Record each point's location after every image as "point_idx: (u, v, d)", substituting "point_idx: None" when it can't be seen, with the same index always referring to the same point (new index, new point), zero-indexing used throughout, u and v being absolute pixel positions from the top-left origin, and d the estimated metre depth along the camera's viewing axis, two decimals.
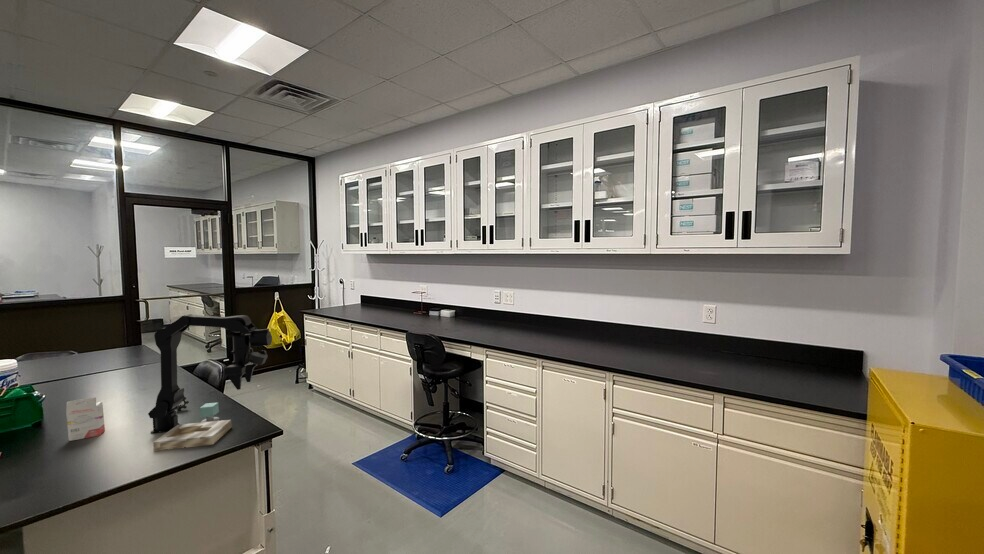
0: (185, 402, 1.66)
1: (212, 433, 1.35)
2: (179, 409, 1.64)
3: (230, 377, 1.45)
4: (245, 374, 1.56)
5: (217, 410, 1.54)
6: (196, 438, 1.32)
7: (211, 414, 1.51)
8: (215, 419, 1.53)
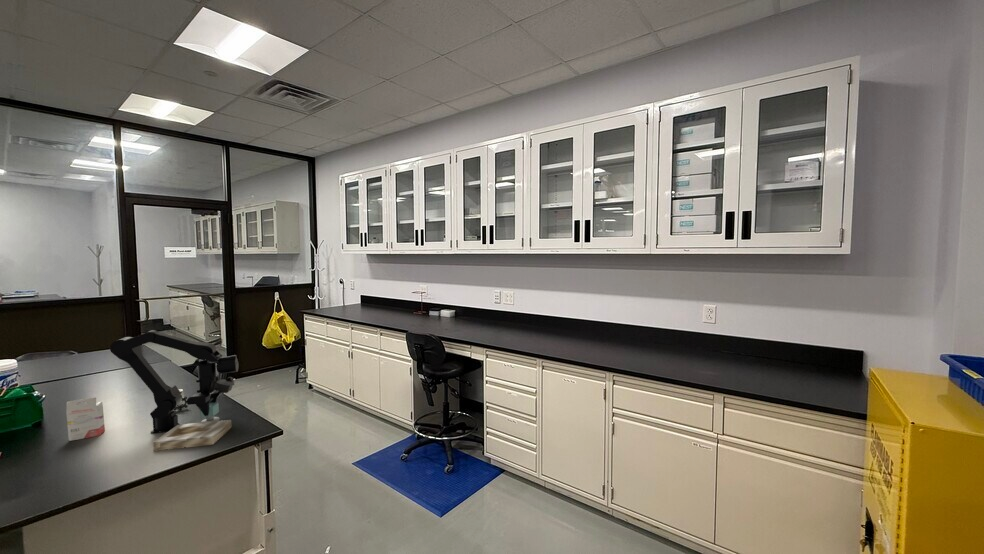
0: (186, 401, 1.66)
1: (212, 433, 1.35)
2: (180, 408, 1.65)
3: (197, 404, 1.48)
4: (209, 403, 1.54)
5: (217, 410, 1.54)
6: (196, 438, 1.32)
7: (211, 414, 1.51)
8: (215, 419, 1.53)
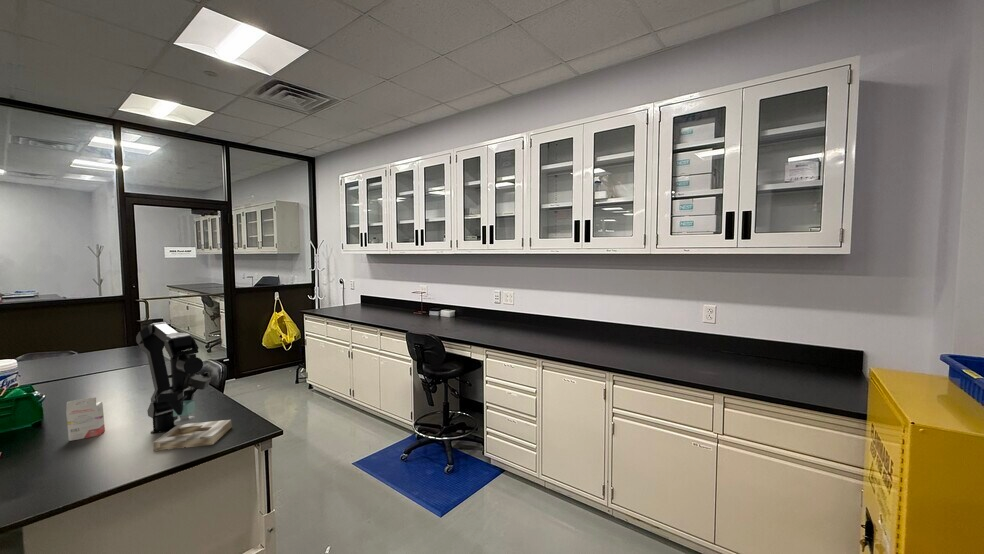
0: None
1: (212, 433, 1.35)
2: None
3: (169, 402, 1.32)
4: None
5: (192, 408, 1.39)
6: (196, 438, 1.32)
7: (185, 413, 1.35)
8: (190, 418, 1.38)
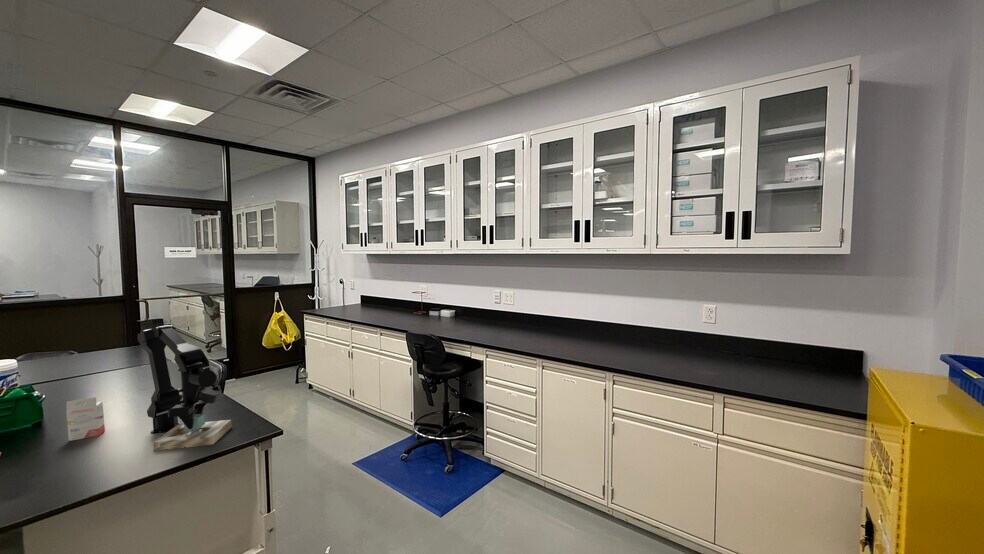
0: None
1: (212, 433, 1.35)
2: None
3: (180, 416, 1.33)
4: None
5: (203, 422, 1.39)
6: (196, 438, 1.32)
7: (196, 427, 1.36)
8: None
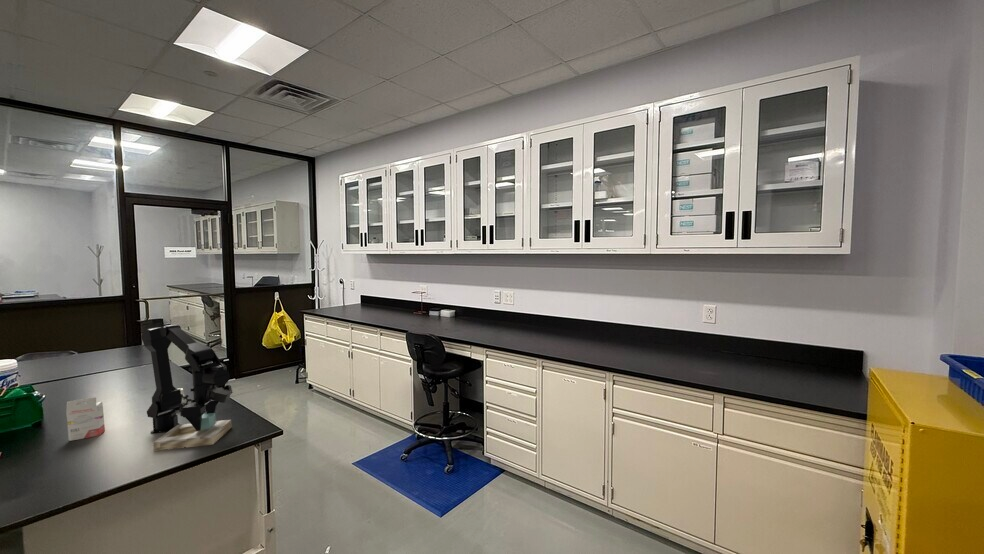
0: (188, 400, 1.68)
1: (212, 433, 1.35)
2: (182, 407, 1.67)
3: (188, 418, 1.32)
4: (208, 411, 1.43)
5: (213, 421, 1.40)
6: (196, 438, 1.32)
7: (207, 426, 1.37)
8: None
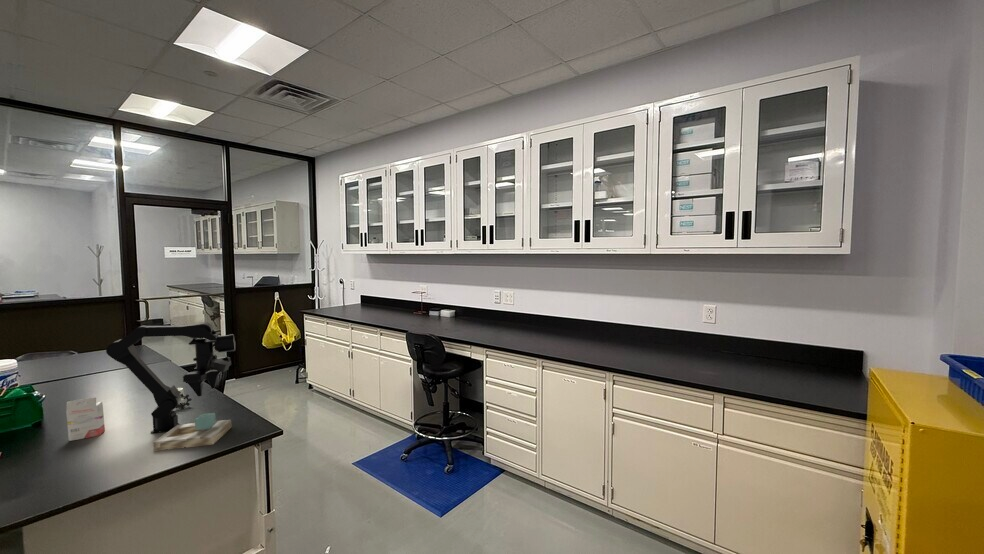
0: (188, 399, 1.69)
1: (212, 433, 1.35)
2: (182, 406, 1.67)
3: (190, 384, 1.46)
4: (210, 380, 1.57)
5: (213, 421, 1.40)
6: (196, 438, 1.32)
7: (207, 426, 1.37)
8: None
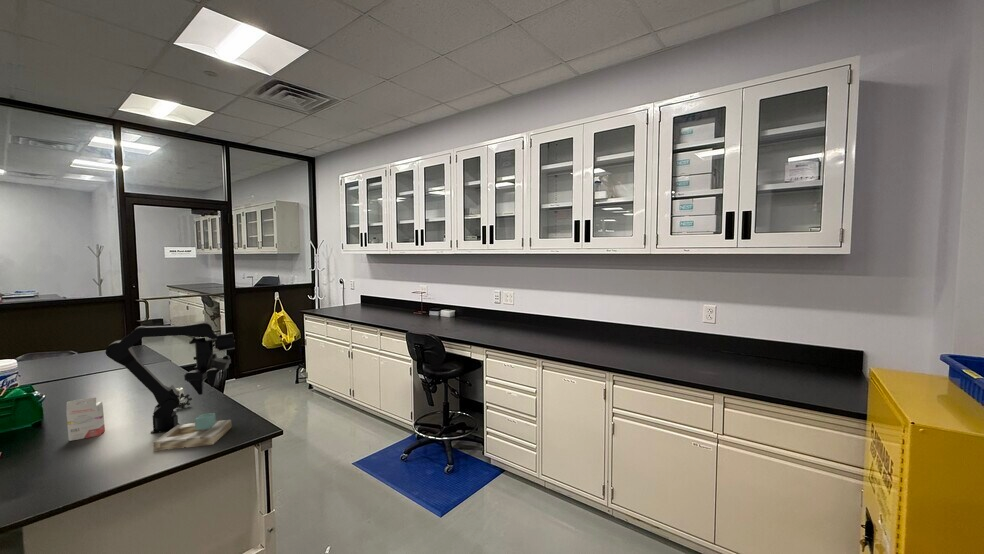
0: (188, 399, 1.69)
1: (212, 433, 1.35)
2: (183, 406, 1.68)
3: (191, 382, 1.48)
4: (209, 379, 1.59)
5: (213, 421, 1.40)
6: (196, 438, 1.32)
7: (207, 426, 1.37)
8: None
